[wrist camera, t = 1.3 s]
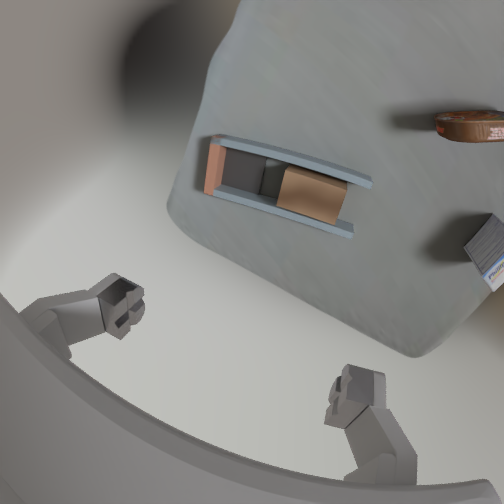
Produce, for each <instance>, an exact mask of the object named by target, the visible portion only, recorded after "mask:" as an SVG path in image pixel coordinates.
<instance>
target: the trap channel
mask: <svg viewBox="0 0 504 504" xmlns="http://www.w3.org/2000/svg"><path fill="white" fill-rule="evenodd" d="M267 157H270V158H274V159H278V160H281V161H285V162H289V163H292V164H296V165H299V166H302V167H306V168H309V169H312V170H315V171H319V172H322V173H325V174H328V175H331V176H334V177H337V178H340V179H343V180H346V181H349V182H351V183H354V184H357V185H360V186H363V187H365V188H368V189H371V187H372V184H373V181H372V179H371V177H370V176H368V175H365V174H362V173H359V172H357V171H354V170H351V169H348V168H345V167H342V166H339V165H336V164H333V163H330V162H327V161H324V160H321V159H317V158H314V157H311V156H308V155H304V154H301V153H297V152H294V151H290V150H287V149H283V148H279V147H275V146H271V145H267V144H263V143H259V142H255V141H251V140H247V139H242V138H238V137H233V136H228V135H223V134H218V135H215V136H211V142H210V149H209V156H208V163H207V171H206V179H205V187H204V193H205V194H209V195H212V196H216V197H219V198H223V199H226V200H230V201H233V202H236V203H240V204H243V205H246V206H250V207H253V208H256V209H260V210H263V211H266V212H269V213H273V214H276V215H279V216H282V217H285V218H288V219H291V220H295V221H298V222H301V223H304V224H307V225H310V226H313V227H316V228H319V229H322V230H325V231H328V232H331V233H334V234H337V235H339V236H342V237H345V238H348V239H352V236H353V234H354V229H353V224H350V223H348V222H345V221H342V220H339V219H337V220H336V223H335V225H332V224H330V223H327V222H324V221H321V220H318V219H315V218H312V217H309V216H306V215H303V214H300V213H297V212H294V211H291V210H288V209H285V208H282V207H279V206H276V205H277V201H278V200H277V199H274V198H271V197H267V196H264V195H261V194H259V192H260V188H261V183H262V178H263V174H264V169H265V164H266V160H267Z"/></svg>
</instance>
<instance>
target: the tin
mask: <svg viewBox="0 0 504 504" xmlns="http://www.w3.org/2000/svg"><path fill="white" fill-rule="evenodd" d="M434 119H435V123H436V128H437V133H438V134H439V135H440V136H442V137H444V138H446V139H448V140H451V141H457V142H467V143H481V142H502V141H504V112H502V111H463V112H447V113H441V114H437V115H435V116H434Z"/></svg>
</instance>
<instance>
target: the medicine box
mask: <svg viewBox="0 0 504 504" xmlns="http://www.w3.org/2000/svg"><path fill="white" fill-rule="evenodd" d="M463 248H464V249H465V251H466V252H467V254H468V255H469V257H470V258H471V260H472V262H473V263H474V265H475V267H476V268H477V270H478V272H479V274H480V275H481V277H482V278H483V280H484V281H485V282H486V284H487V285H488V286H489V288H490V289H491V290H492V292H494V291H495V290H496V289H497V288H498V287H499V286H501V285H502V284H503V282H504V223H503V222H502V221H501V220H500V219H499V218H498V217H497V216H496V215H495V214H492V216H491V217H490V218H489V219H488V220H487V222H486V223H485V224H484V225H483V226H482V228H481V229H480V230H479V231H478V232H477V233H476V234H475V235H474V237H473V238H472V239H471V240H470V241H469V242H468V243H467V244H466V245H465V246H464V247H463Z"/></svg>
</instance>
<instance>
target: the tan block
mask: <svg viewBox="0 0 504 504" xmlns="http://www.w3.org/2000/svg"><path fill="white" fill-rule="evenodd" d="M346 192H347V181H344V180H341V179H338V178H335V177H332V176H329V175H326V174H323V173H320V172H317V171H314V170H311V169H308V168H305V167H301V166H298V165H295V164H292V163H291V164H290V166H289V167H288V168H287V169H286V170H285V174H284V178H283V182H282V185H281V189H280V193H279V197H278V201H277V205H276V206H279V207H282V208H285V209H288V210H291V211H294V212H297V213H300V214H303V215H306V216H309V217H312V218H315V219H318V220H321V221H324V222H327V223H330V224H332V225H335V223H336V220H337V217H338V214H339V212H340V209H341V206H342V203H343V201H344V198H345V195H346Z"/></svg>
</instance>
